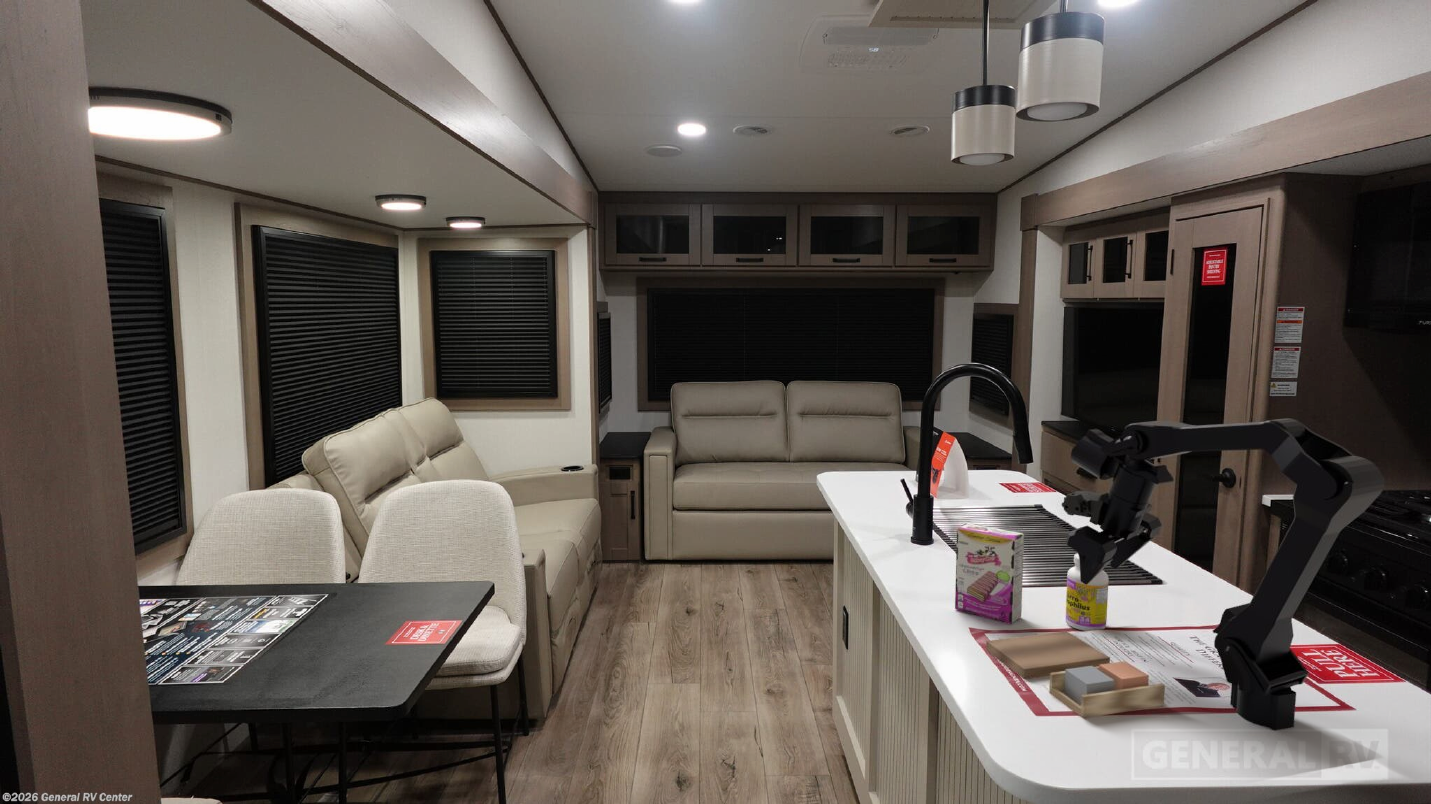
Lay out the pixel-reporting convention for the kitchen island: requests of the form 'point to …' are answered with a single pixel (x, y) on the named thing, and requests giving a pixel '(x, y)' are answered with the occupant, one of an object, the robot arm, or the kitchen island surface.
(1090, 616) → the supplement bottle
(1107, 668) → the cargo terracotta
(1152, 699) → the wooden tray
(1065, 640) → the plate
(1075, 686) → the block
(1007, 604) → the candy bar box
